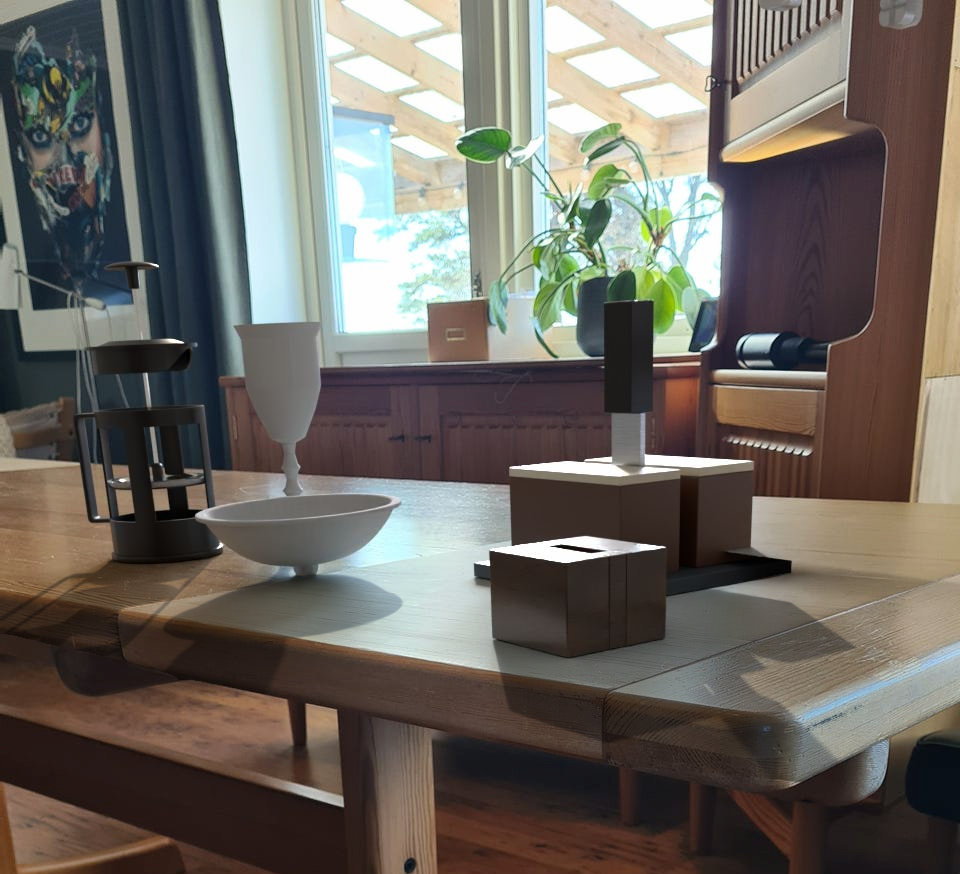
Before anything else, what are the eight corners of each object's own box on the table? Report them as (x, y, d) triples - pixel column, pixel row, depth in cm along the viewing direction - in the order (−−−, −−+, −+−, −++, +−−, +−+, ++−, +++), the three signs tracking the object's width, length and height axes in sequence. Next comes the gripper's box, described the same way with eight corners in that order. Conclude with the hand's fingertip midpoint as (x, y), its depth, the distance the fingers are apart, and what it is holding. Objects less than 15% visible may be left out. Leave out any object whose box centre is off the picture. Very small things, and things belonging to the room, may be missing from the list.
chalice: (243, 554, 109) (218, 325, 102) (273, 542, 115) (252, 326, 108) (324, 554, 107) (304, 321, 101) (351, 542, 113) (334, 322, 107)
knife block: (586, 620, 77) (585, 535, 75) (666, 638, 72) (667, 547, 70) (491, 638, 73) (488, 549, 71) (567, 658, 68) (566, 562, 66)
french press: (243, 545, 114) (213, 262, 106) (213, 561, 106) (177, 254, 97) (116, 548, 115) (76, 269, 107) (76, 565, 107) (29, 262, 98)
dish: (289, 553, 108) (283, 492, 106) (441, 558, 102) (438, 493, 101) (158, 590, 93) (148, 519, 92) (327, 598, 88) (321, 523, 86)
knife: (624, 557, 93) (625, 302, 87) (652, 561, 91) (655, 299, 84) (603, 560, 92) (602, 302, 86) (631, 564, 90) (632, 300, 83)
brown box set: (639, 550, 102) (639, 451, 99) (791, 573, 90) (797, 459, 87) (473, 576, 94) (469, 468, 91) (616, 604, 81) (616, 480, 78)
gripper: (939, -242, 71) (917, 47, 76) (665, -331, 60) (661, 11, 66) (1042, -288, 66) (1012, 23, 71) (764, -394, 56) (752, -19, 61)
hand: (842, 17), depth 68 cm, fingers open, 8 cm apart
